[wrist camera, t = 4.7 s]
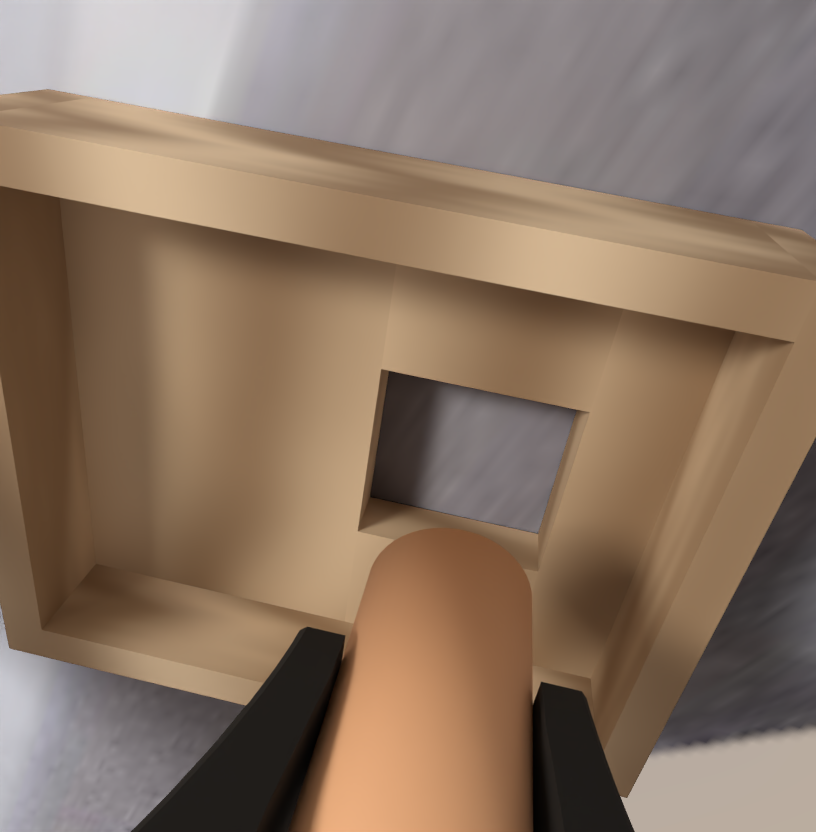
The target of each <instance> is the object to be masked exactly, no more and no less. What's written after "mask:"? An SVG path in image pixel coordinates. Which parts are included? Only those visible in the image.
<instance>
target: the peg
mask: <svg viewBox="0 0 816 832" xmlns="http://www.w3.org/2000/svg"><path fill="white" fill-rule="evenodd" d="M288 832H533V656H532V591H531V587H530V583H529V580H528V578H527V575H526V573H525V572H524V570H523V568H522V567H521V565H520V564H519V563H518V562H517V560H516V559H515V558H514V557H513V556H512V555H511V554H510V553H509V552H508V551H507V550H505V549H504V548H503V547H501V546H500V545H499V544H497V543H495V542H493V541H492V540H490V539H488V538H486V537H483V536H481V535H479V534H476V533H472V532H469V531H465V530H460V529H454V528H430V529H423V530H419V531H415V532H411V533H409V534H406V535H404V536H402V537H400V538H398V539H396V540H394V541H393V542H392V543H390V544H389V545H388V546H387V547H386V548H385V549H384V550H383V551H382V552H381V553H380V554H379V555H378V557H377V558H376V559H375V561H374V563H373V565H372V568H371V571H370V574H369V577H368V580H367V583H366V586H365V590H364V593H363V596H362V599H361V602H360V605H359V608H358V612H357V615H356V618H355V621H354V624H353V627H352V631H351V634H350V637H349V640H348V643H347V646H346V649H345V653H344V656H343V659H342V662H341V665H340V669H339V672H338V675H337V678H336V681H335V684H334V687H333V691H332V694H331V697H330V700H329V703H328V706H327V710H326V713H325V716H324V719H323V722H322V725H321V728H320V731H319V735H318V738H317V741H316V744H315V747H314V750H313V753H312V757H311V760H310V763H309V766H308V769H307V772H306V776H305V779H304V782H303V785H302V788H301V791H300V794H299V798H298V801H297V804H296V807H295V810H294V813H293V817H292V820H291V823H290V826H289V829H288Z"/></svg>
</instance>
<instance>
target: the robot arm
mask: <svg viewBox="0 0 816 832" xmlns="http://www.w3.org/2000/svg"><path fill="white" fill-rule="evenodd" d="M345 636H346V635H342V634H337V633H333V632H329V631H325V630H320V629H316V628H312V627H308V626H307V627H305V628H303V629H301V630H299V632H298V634H297V635H296V637H295V639H294V640H293V642H292V644H291V645H290V647H289V648H288V650H287V651H286V653H285V654H284V656H283V657H282V659H281V660H280V662H279V663H278V664H277V666H276V667H275V669H274V670H273V671H272V673H271V674H270V675H269V677H268V678H267V679H266V681H265V682H264V683H263V685H262V686H261V687H260V689H259V690H258V691H257V693H256V694H255V695H254V696H253V698H252V699H251V700H250V702H249V703H248V704H247V705H246V706H245V708H244V709H243V710H242V711H241V712H240V714H239V715H238V716H237V717H236V718H235V720H234V721H233V722H232V723H231V725H230V726H229V727H228V728H227V729H226V731H225V732H224V733H223V734H222V735H221V737H220V738H219V739H218V740H217V741H216V742H215V744H214V745H213V746H212V747H211V748H210V749H209V750H208V752H207V753H206V754H205V755H204V756H203V757H202V758H201V759H200V760H199V761H198V762H197V764H196V765H195V766H194V767H193V768H192V769H191V770H190V771H189V772H188V773H187V774H186V775H185V777H184V778H183V779H182V780H181V781H180V782H179V783H178V784H177V785H176V786H175V787H174V789H173V790H172V791H171V792H170V793H169V794H168V795H167V796H166V797H165V798H164V799H163V800H162V801H161V802H160V803H159V804H158V805H157V806H156V807H155V808H154V809H153V810H152V811H151V812H150V813H149V814H148V815H147V816H146V817H145V818H144V819H143V820H142V821H141V822H140V823H139V824H138V825H137V826H136V827H135V828H134V829H133V830H132V831H131V832H288V829H289V826H290V823H291V820H292V817H293V813H294V810H295V807H296V804H297V801H298V798H299V794H300V791H301V788H302V785H303V782H304V779H305V776H306V772H307V769H308V766H309V763H310V760H311V757H312V753H313V750H314V747H315V744H316V741H317V738H318V735H319V731H320V728H321V725H322V722H323V719H324V716H325V713H326V710H327V706H328V703H329V700H330V697H331V694H332V691H333V687H334V684H335V681H336V678H337V675H338V672H339V669H340V665H341V662H342V656H343V650H344V643H345ZM533 832H634V829H633V827H632V825H631V822H630V820H629V817H628V815H627V812H626V810H625V808H624V805H623V802H622V800H621V797H620V795H619V792H618V789H617V787H616V784H615V781H614V779H613V776H612V773H611V770H610V768H609V765H608V762H607V759H606V757H605V754H604V751H603V748H602V745H601V742H600V739H599V736H598V733H597V730H596V727H595V724H594V721H593V718H592V715H591V711H590V708H589V705H588V701H587V698H586V697H585V695H584V694H583V692H582V691H579V690H575V689H571V688H566V687H562V686H558V685H554V684H549V683H545V682H541V684H540V686H539V689H538V692H537V695H536V697H535V700H534V703H533Z"/></svg>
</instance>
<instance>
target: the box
mask: <svg viewBox="0 0 816 832" xmlns="http://www.w3.org/2000/svg"><path fill="white" fill-rule="evenodd" d="M389 371H393V372H398V373H403V374H407V375H412V376H417V377H422V378H427V379H432V380H436V381H441V382H446V383H451V384H456V385H460V386H465V387H470V388H475V389H480V390H485V391H489V392H494V393H499V394H504V395H509V396H514V397H518V398H523V399H528V400H533V401H538V402H542V403H547V404H552V405H557V406H562V407H567V408H571V409H576V410H577V411H576V414H575V418H574V421H573V424H572V427H571V430H570V434H569V437H568V440H567V443H566V446H565V450H564V453H563V456H562V459H561V462H560V466H559V469H558V472H557V475H556V478H555V482H554V485H553V488H552V491H551V494H550V498H549V501H548V504H547V507H546V510H545V514H544V517H543V520H542V523H541V526H540V530H539V533H538V534H536V533H531V532H527V531H522V530H518V529H513V528H508V527H504V526H499V525H495V524H490V523H486V522H481V521H477V520H472V519H467V518H463V517H458V516H454V515H449V514H445V513H440V512H436V511H431V510H427V509H422V508H417V507H413V506H408V505H404V504H399V503H395V502H390V501H386V500H381V499H376V498H372V497H370V493H371V486H372V480H373V473H374V466H375V460H376V453H377V447H378V440H379V433H380V427H381V420H382V414H383V407H384V400H385V394H386V387H387V381H388V374H389ZM815 438H816V240H815V239H813V238H812V237H811V236H809V235H808V234H807V233H805V232H804V231H802V230H799V229H793V228H788V227H783V226H777V225H772V224H767V223H761V222H756V221H751V220H745V219H740V218H735V217H729V216H724V215H718V214H713V213H708V212H702V211H697V210H692V209H686V208H681V207H676V206H670V205H665V204H660V203H654V202H649V201H644V200H638V199H633V198H627V197H622V196H617V195H611V194H606V193H601V192H595V191H590V190H585V189H579V188H574V187H569V186H563V185H558V184H553V183H547V182H542V181H536V180H531V179H526V178H520V177H515V176H510V175H504V174H499V173H494V172H488V171H483V170H478V169H472V168H467V167H462V166H456V165H451V164H446V163H440V162H435V161H429V160H424V159H419V158H413V157H408V156H403V155H397V154H392V153H387V152H381V151H376V150H371V149H365V148H360V147H355V146H349V145H344V144H338V143H333V142H328V141H322V140H317V139H312V138H306V137H301V136H296V135H290V134H285V133H280V132H274V131H269V130H264V129H258V128H253V127H247V126H242V125H237V124H231V123H226V122H221V121H215V120H210V119H205V118H199V117H194V116H189V115H183V114H178V113H173V112H167V111H162V110H157V109H151V108H146V107H140V106H135V105H130V104H124V103H119V102H114V101H108V100H103V99H98V98H92V97H87V96H82V95H76V94H71V93H66V92H60V91H55V90H49V89H46V90H37V91H29V92H20V93H12V94H3V95H0V604H1V609H2V614H3V619H4V624H5V629H6V634H7V639H8V644H9V648H10V649H14V650H19V651H23V652H27V653H31V654H35V655H39V656H43V657H48V658H52V659H56V660H60V661H64V662H68V663H72V664H76V665H81V666H85V667H89V668H93V669H97V670H101V671H105V672H109V673H114V674H118V675H122V676H126V677H130V678H134V679H138V680H142V681H147V682H151V683H155V684H159V685H163V686H167V687H171V688H176V689H180V690H184V691H188V692H192V693H196V694H200V695H204V696H209V697H213V698H217V699H221V700H225V701H229V702H233V703H237V704H242V705H247V704H248V703H249V702H250V700H251V699H252V698H253V696H254V695H255V694H256V693H257V691H258V690H259V689H260V687H261V686H262V685H263V683H264V682H265V681H266V679H267V678H268V677H269V675H270V674H271V673H272V671H273V670H274V669H275V667H276V666H277V664H278V663H279V662H280V660H281V659H282V657H283V656H284V654H285V653H286V651H287V650H288V648H289V647H290V645H291V644H292V642H293V640H294V639H295V637H296V635H297V634H298V632H299V630H301V629H303V628H305V627H307V626H308V627H312V628H316V629H320V630H325V631H329V632H333V633H337V634H342V635H346V636H345V643H344V650H343V656H344V653H345V649H346V646H347V643H348V640H349V637H350V634H351V631H352V627H353V624H354V621H355V618H356V615H357V612H358V608H359V605H360V602H361V599H362V596H363V593H364V590H365V586H366V583H367V580H368V577H369V574H370V571H371V568H372V565H373V563H374V561H375V559H376V558H377V557H378V555H379V554H380V553H381V552H382V551H383V550H384V549H385V548H386V547H387V546H388V545H389V544H390V543H392V542H393V541H394V540H396V539H398V538H400V537H402V536H404V535H406V534H409V533H411V532H415V531H419V530H423V529H430V528H454V529H460V530H465V531H469V532H472V533H476V534H479V535H481V536H483V537H486V538H488V539H490V540H492V541H493V542H495V543H497V544H499V545H500V546H501V547H503V548H504V549H505V550H507V551H508V552H509V553H510V554H511V555H512V556H513V557H514V558H515V559H516V560H517V562H518V563H519V564H520V565H521V567H522V568H523V570H524V572H525V573H526V575H527V578H528V580H529V583H530V587H531V591H532V656H533V703H534V700H535V697H536V695H537V692H538V689H539V686H540V684H541V682H545V683H549V684H554V685H558V686H562V687H566V688H571V689H575V690H579V691H582V692H583V694H584V695H585V697H586V698H587V701H588V705H589V708H590V711H591V715H592V718H593V721H594V724H595V727H596V730H597V733H598V736H599V739H600V742H601V745H602V748H603V751H604V754H605V757H606V759H607V762H608V765H609V768H610V770H611V773H612V776H613V779H614V781H615V784H616V787H617V789H618V792H619V795H620V796H622V797H626V798H627V797H628V795H629V793H630V792H631V790H632V788H633V786H634V784H635V782H636V780H637V778H638V776H639V774H640V772H641V771H642V768H643V767H644V765H645V763H646V761H647V759H648V757H649V755H650V753H651V751H652V749H653V748H654V746H655V744H656V742H657V740H658V738H659V736H660V734H661V732H662V730H663V728H664V727H665V725H666V723H667V721H668V719H669V717H670V715H671V713H672V711H673V709H674V707H675V705H676V704H677V702H678V700H679V698H680V696H681V694H682V692H683V690H684V688H685V686H686V684H687V683H688V681H689V679H690V677H691V675H692V673H693V671H694V669H695V667H696V665H697V663H698V662H699V660H700V658H701V656H702V654H703V652H704V650H705V648H706V646H707V644H708V642H709V640H710V639H711V637H712V635H713V633H714V631H715V629H716V627H717V625H718V623H719V621H720V619H721V618H722V616H723V614H724V612H725V610H726V608H727V606H728V604H729V602H730V600H731V598H732V596H733V595H734V593H735V591H736V589H737V587H738V585H739V583H740V581H741V579H742V577H743V575H744V574H745V572H746V570H747V568H748V566H749V564H750V562H751V560H752V558H753V556H754V554H755V552H756V551H757V549H758V547H759V545H760V543H761V541H762V539H763V537H764V535H765V533H766V531H767V530H768V528H769V526H770V524H771V522H772V520H773V518H774V516H775V514H776V512H777V510H778V509H779V507H780V505H781V503H782V501H783V499H784V497H785V495H786V493H787V491H788V489H789V487H790V486H791V484H792V482H793V480H794V478H795V476H796V474H797V472H798V470H799V468H800V466H801V465H802V463H803V461H804V459H805V457H806V455H807V453H808V451H809V449H810V447H811V445H812V443H813V442H814V440H815ZM343 656H342V659H343Z"/></svg>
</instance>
